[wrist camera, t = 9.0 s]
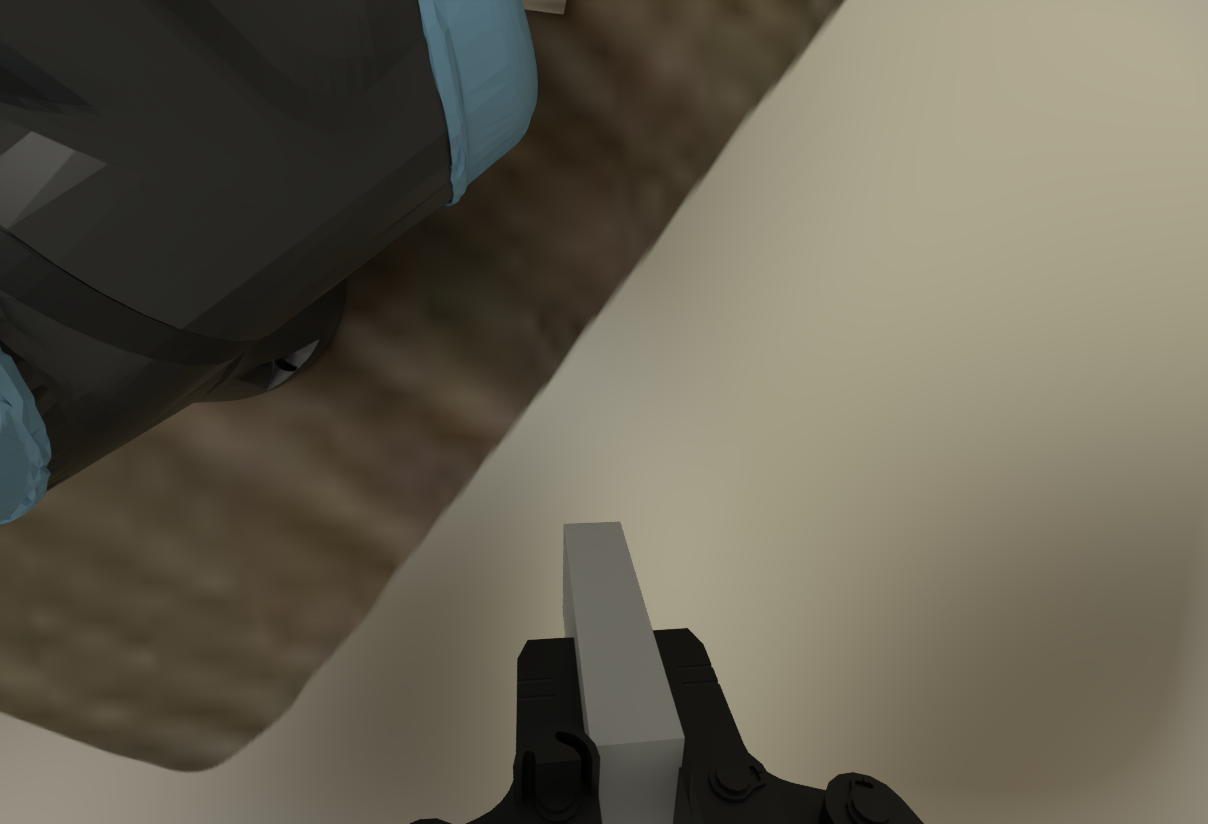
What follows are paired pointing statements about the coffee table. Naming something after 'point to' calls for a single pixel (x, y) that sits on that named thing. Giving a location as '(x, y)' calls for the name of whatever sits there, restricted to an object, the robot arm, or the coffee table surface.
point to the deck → (545, 5)
